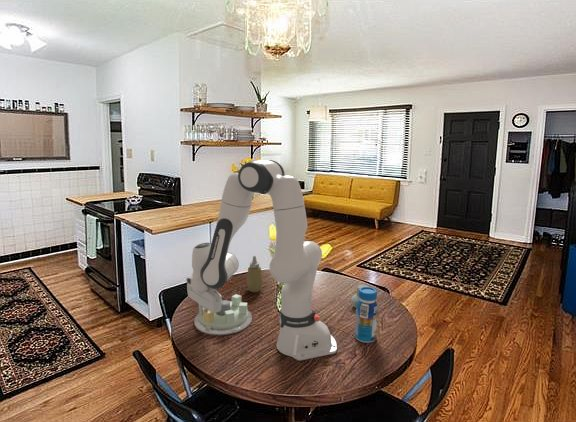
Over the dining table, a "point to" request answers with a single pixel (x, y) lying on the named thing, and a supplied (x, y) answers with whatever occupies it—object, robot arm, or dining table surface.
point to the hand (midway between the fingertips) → (204, 314)
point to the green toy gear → (225, 314)
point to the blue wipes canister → (366, 315)
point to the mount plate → (225, 331)
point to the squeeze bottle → (254, 276)
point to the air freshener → (356, 296)
